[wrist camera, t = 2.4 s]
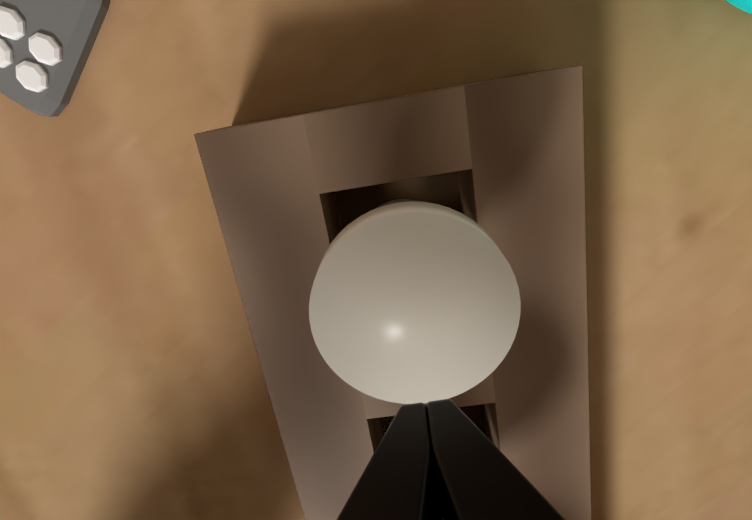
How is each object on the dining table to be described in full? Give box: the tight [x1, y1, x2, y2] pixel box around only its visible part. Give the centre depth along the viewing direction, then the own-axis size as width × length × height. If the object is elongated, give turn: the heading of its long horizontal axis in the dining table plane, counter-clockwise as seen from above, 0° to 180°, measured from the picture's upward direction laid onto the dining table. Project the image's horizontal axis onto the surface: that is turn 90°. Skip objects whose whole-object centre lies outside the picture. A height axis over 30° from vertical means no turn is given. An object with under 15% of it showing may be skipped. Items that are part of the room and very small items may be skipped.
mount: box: [194, 66, 591, 520], centre depth 21 cm, size 12×28×4 cm, turn 10°
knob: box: [309, 199, 521, 404], centre depth 14 cm, size 5×5×5 cm
